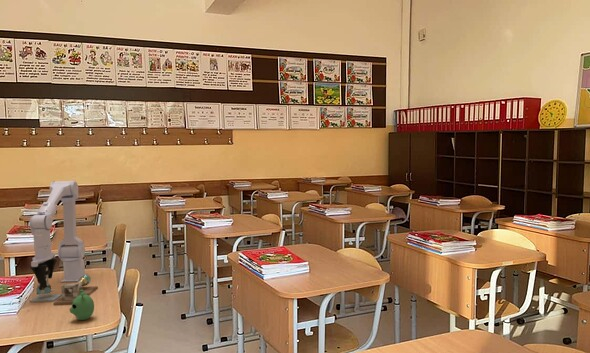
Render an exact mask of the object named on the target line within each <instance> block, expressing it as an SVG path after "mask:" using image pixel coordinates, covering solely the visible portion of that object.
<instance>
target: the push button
mask: <svg viewBox="0 0 590 353" xmlns="http://www.w3.org/2000/svg"><path fill="white" fill-rule="evenodd" d="M48 274H50V269H48V267H47V268H46V272H45V276H46V278H45V282H44V283H38V282H37V287H36V291H35V292H36V296H38V295H47V294H50V293H51V292H52V293H53V290H55V289H56V288H53V287H52V286H51V285H50V283H49V279H48ZM51 287H52V288H51Z"/></svg>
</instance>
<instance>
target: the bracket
mask: <svg viewBox="0 0 590 353" xmlns="http://www.w3.org/2000/svg"><path fill="white" fill-rule="evenodd" d="M68 288H73V293H72V294H68V293H67V289H68ZM80 290H84V293H85V295H89V296H91V295H92V294H93V293H94V292H96V290H99V287H98V285H94V286H93V285H92V286H83V287H82V286H81V287H80V288H79V284H75V283H65V284H63V285H61V294H62V296H61V297H60V298H58V299H57V300H55V301H53V302H52V303H53V306H69V305H70V306H72V302H73V300H74V298H76V297H77V296H79V295H80V292H79V291H80Z"/></svg>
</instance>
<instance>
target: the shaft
mask: <svg viewBox="0 0 590 353" xmlns="http://www.w3.org/2000/svg"><path fill="white" fill-rule="evenodd" d="M91 281H92V280H91V277H90V276H89V275H88V274H87V275H83V276H82V277H80V279H79V280H78V281H75V283H74V284H79V288H80V287H87V285H89V284H90V283H91ZM67 293H68V294H72V293H73V288H68V289H67Z"/></svg>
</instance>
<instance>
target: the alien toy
mask: <svg viewBox="0 0 590 353" xmlns="http://www.w3.org/2000/svg"><path fill="white" fill-rule="evenodd" d="M79 292H80V295H79V296H77V297H76V298H74V300H73V302H72V305H71V307H70V308H69V312H70V314H73V315H74V316H75V319H77V320H79V321H86V320H88V319H89V318H91V317H92V315H93V314H94V311H95V302H94V299H93V298H92V297H91V295H85V293H84V290H80V291H79Z"/></svg>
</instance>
